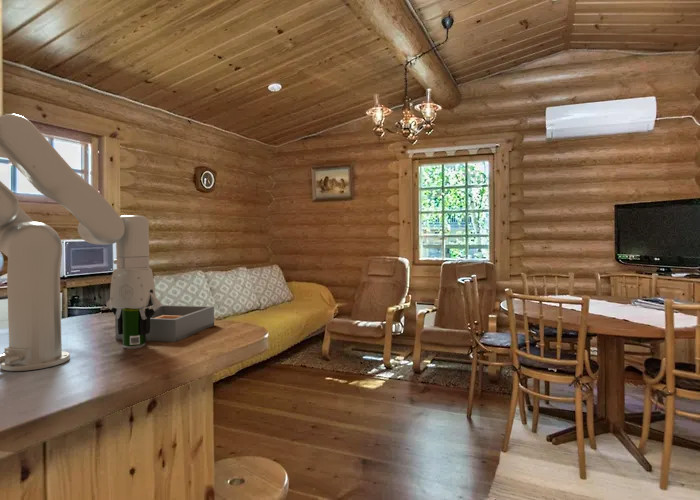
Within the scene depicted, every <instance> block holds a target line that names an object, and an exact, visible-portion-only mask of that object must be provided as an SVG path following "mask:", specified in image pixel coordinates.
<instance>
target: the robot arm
mask: <svg viewBox="0 0 700 500" xmlns="http://www.w3.org/2000/svg"><path fill="white" fill-rule="evenodd" d="M0 158H3V159H4V158H5V159H8V160H9V162H11V164H12V165H14V167H15V168H16V170H18V171H19V172H20V173H21V174H22V175H23V177H24V178H26V180H27V181H28V182H29V183H30V184H31V185H32V186H33V187H34V188H35V189H36V190H37V191H38V193H40V194H42V195H43V196H45V197H47V198H49V199H50V200H53V201H54V202H56V203H58V204H59V205H60V206H62V207H64V208H65V209H66V210H67V211H68V212H69V213H70V214H72V215H73V217H75V218H76V220H78V225H77V233H78V235H79V237H80V238H81V239H82V240H83V241H85V242H86V243H89V244H92V245H114V244H115V249H116V250H115V251H116V253H115V254H116V258H114V259H113V264H114V265H116V268H113V271H112V275H111V282H110V290H109V299H108V301H107V302H106V307H107V308H108V309H109V310H110V311H111V313H112V314H113V315H114V317H115V318H116V319H118V334H123V330H122V309H124V308H130V309H139V311H140V314H141V317H142V319H141V320H140V335H145V334H148V333H150V318H152V316H153V315H154V313H155V312H156V311H157V310H158V309H159V308H160V307H161V306H162V305H163V304H162V303H161V302H160V300H159V299H158V298H157V297H156V290H155V289H156V288H155V279H154V274H153V270H152V268H150V237H149V236H150V231H149V229H150V228H149V226H150V224H149V220H148V219H149V218H147V217H146V216H145V215H133V214H132V215H131V214H129V215H127V214H126V215H125V214H124V215H120V214H119V213H118V212H117V211H116V210H115V208H114V207H113V206H112V205H111V204H110V203H109V202H108V200H107V199H106V198H105V197H104V196H103V195H102V194H101V193H100V192H99V191H98V190H97V189H96V188H95V187H94V186H92V185H91V184H90V182H89V183H88V181H86V180H85V179H84V178H83V177H82V176H81V175H79V173H77V171H75V170H74V169H73V168H72V167H71V166H70V165H69V163H68V162H67V161H66V160H65V158H63V157H62V155H61V154H60V153H59V152H58V151H57V150H56V148H54V146H53V145H52V144H51V143H50V142H49V140H48V139H46V137H45V136H44V135H43V134H42V133H41V131H40V130H39V129H38V128H37V127H36V125H34V124H33V122H32V121H30V120H29V119H27V118H26V117H24V115H23V116H22V115H20V114H18V113H17V114H16V113H6V114H2V115H0ZM62 245H63V244H62V239H61V237H60V235H59V233H58V232H57V230H55V229H54V228H53V227H52V226H51V225H48V224H46V223H44V222H41V221H40V222H39V221H34V220H33V218H32V217H30V216H29V215H28V214H27V213H26V212H25V211H24V209H22V208H21V207H20V201H19V199H18V197H17V195H16V194H15V193H14V192H13V190H12V189H10V188H9V187H7V186H6V185H5V184H4V182H2V181H1V180H0V252H1V253H2V254H4V255H5V256H6V257H7V272H6V273H7V274H6V279H7V280H6V281H7V282H6V288H7V292H6V293H7V316H8V321H7V322H8V347H4V352H3V353H1V354H0V369H1V370H3V371H6V372H7V371H8V372H23V371H25V372H26V371H34V370H40V369H45V368H50V367H55V366H58V365H61V364H64V363H66V362H67V361H69V360H70V357H71V353H70V352H67V351H64V350H63V349H62V348H63V347H62V308H61V307H62V306H61V305H62V302H61V301H62V299H61V297H62V296H61V265H62V256H63V246H62ZM150 308H151V309H150ZM115 318H114V319H115Z"/></svg>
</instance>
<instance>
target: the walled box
mask: <svg viewBox="0 0 700 500" xmlns="http://www.w3.org/2000/svg"><path fill="white" fill-rule="evenodd" d="M151 308H152V307H150V309H151ZM114 322H115V323H114V325H115V328H114V329H115V331H114V332H115V340H117V341H118V340H122V341H123V334H118V319H116V318H114ZM213 325H214V326H215V306H208V305H206V306H205V305H204V306H203V305H172V304H171V305H170V304H168V305H166V304H165V305H164V304H162V306H161V307H160V308H159V309H158V310H157V311H156V312H155V313H154V315H153V316H152V318H150V333H148V334H146V342H165V343H166V342H170V343H172V342H173V343H177V342H179V341H181V340H183V339H186V338H189V337H191V336H193V335H195V334H199V333H200V332H202V331H205V330H206V329H208V328H211V327H214V326H213Z"/></svg>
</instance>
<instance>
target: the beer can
mask: <svg viewBox="0 0 700 500" xmlns="http://www.w3.org/2000/svg"><path fill="white" fill-rule="evenodd" d="M141 319H142V317H141V314H140V311H139V309H130V308H124V309H122V330H123V340H122V347H123V348H124V349H126V350H127V349H128V350H129V349H130V350H133V349H141V348H143V347H146V343H147V341H146V334H145V335H140V320H141Z"/></svg>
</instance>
